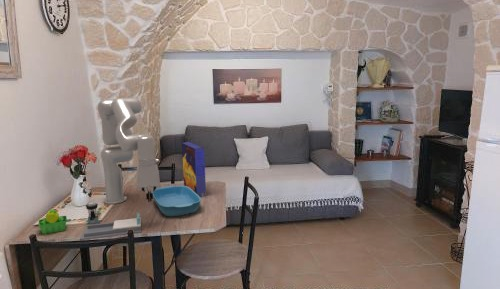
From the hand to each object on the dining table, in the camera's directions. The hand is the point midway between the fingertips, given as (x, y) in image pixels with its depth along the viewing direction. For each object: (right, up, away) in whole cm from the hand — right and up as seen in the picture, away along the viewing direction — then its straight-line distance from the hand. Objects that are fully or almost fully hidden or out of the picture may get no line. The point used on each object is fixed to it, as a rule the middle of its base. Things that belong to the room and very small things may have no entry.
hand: (149, 200), depth 164 cm
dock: (-17, -13, -2) cm, 22 cm away
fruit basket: (-44, -14, -2) cm, 46 cm away
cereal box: (+13, -3, +52) cm, 54 cm away
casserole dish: (+6, -8, +28) cm, 30 cm away
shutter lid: (-10, -11, -1) cm, 15 cm away
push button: (-29, -12, +8) cm, 33 cm away
